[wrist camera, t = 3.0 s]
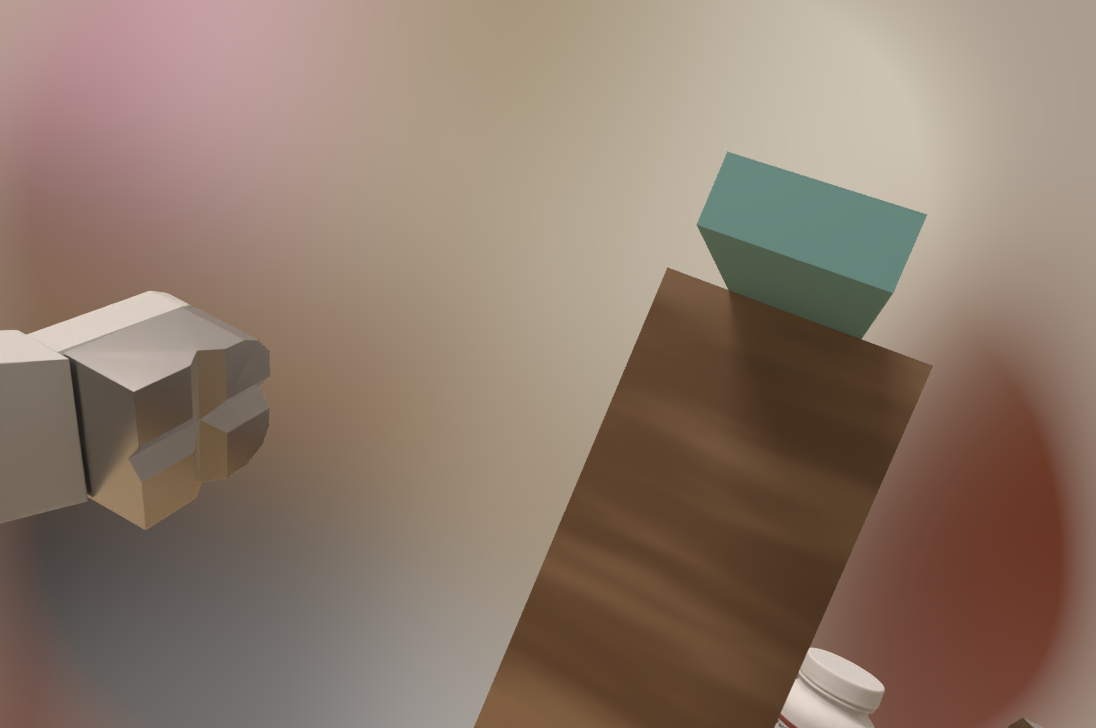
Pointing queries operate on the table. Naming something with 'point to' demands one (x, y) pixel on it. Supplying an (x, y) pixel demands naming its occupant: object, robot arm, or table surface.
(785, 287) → the lid slat
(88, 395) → the robot arm
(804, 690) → the pill bottle
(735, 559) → the walnut shelf
